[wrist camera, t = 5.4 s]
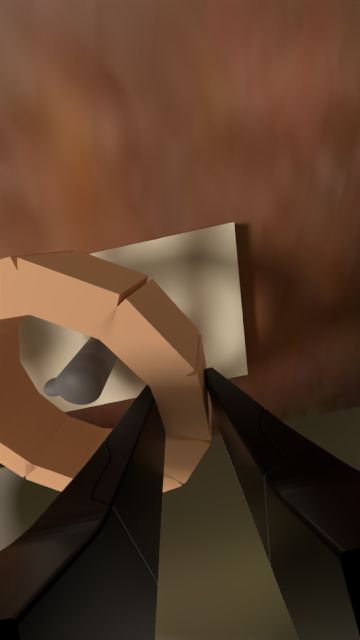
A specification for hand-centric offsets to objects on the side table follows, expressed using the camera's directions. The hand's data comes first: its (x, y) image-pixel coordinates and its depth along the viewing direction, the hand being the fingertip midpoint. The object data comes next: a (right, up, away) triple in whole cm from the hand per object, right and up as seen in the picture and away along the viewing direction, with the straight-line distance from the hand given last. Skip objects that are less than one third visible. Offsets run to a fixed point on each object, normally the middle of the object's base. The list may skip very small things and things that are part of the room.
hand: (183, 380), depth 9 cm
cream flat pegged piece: (-4, +2, +8) cm, 10 cm away
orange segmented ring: (-5, 0, +2) cm, 5 cm away
